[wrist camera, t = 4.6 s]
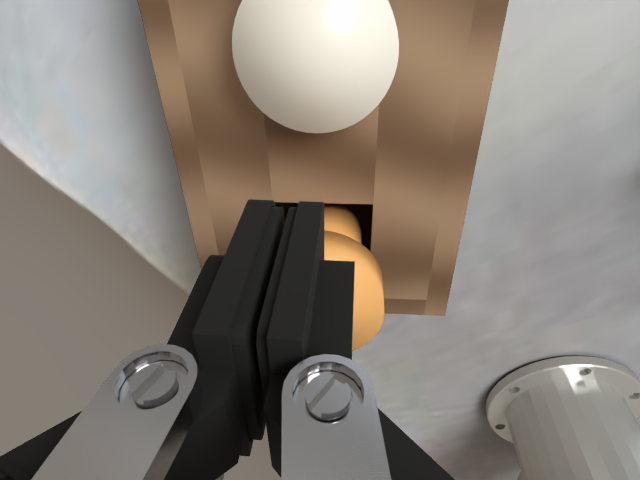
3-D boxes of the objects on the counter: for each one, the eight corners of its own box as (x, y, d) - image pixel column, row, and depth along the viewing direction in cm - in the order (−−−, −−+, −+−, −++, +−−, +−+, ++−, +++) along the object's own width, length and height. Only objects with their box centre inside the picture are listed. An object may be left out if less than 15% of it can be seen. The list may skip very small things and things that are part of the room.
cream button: (386, 86, 22) (392, 134, 18) (268, 85, 23) (243, 132, 18) (395, -58, 19) (406, -46, 14) (255, -55, 19) (219, -43, 15)
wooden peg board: (432, 252, 31) (444, 315, 26) (232, 246, 32) (209, 306, 27) (491, -119, 19) (534, -129, 14) (171, -109, 20) (110, -114, 15)
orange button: (377, 276, 26) (380, 359, 21) (274, 272, 26) (255, 353, 22) (383, 185, 22) (389, 261, 18) (265, 183, 23) (239, 256, 18)
